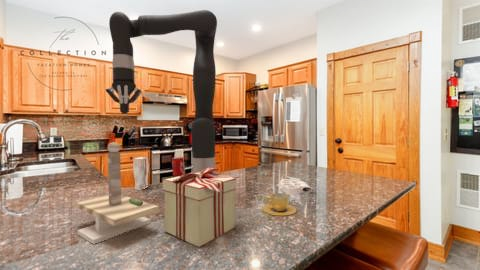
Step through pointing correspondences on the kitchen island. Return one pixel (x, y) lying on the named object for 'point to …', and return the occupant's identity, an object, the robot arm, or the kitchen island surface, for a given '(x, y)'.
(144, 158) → the beer glass
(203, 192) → the gift box
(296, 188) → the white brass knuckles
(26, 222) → the kitchen island surface
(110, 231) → the deck stand
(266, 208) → the cup
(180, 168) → the beverage can
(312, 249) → the kitchen island surface
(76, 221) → the kitchen island surface
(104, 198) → the platform
